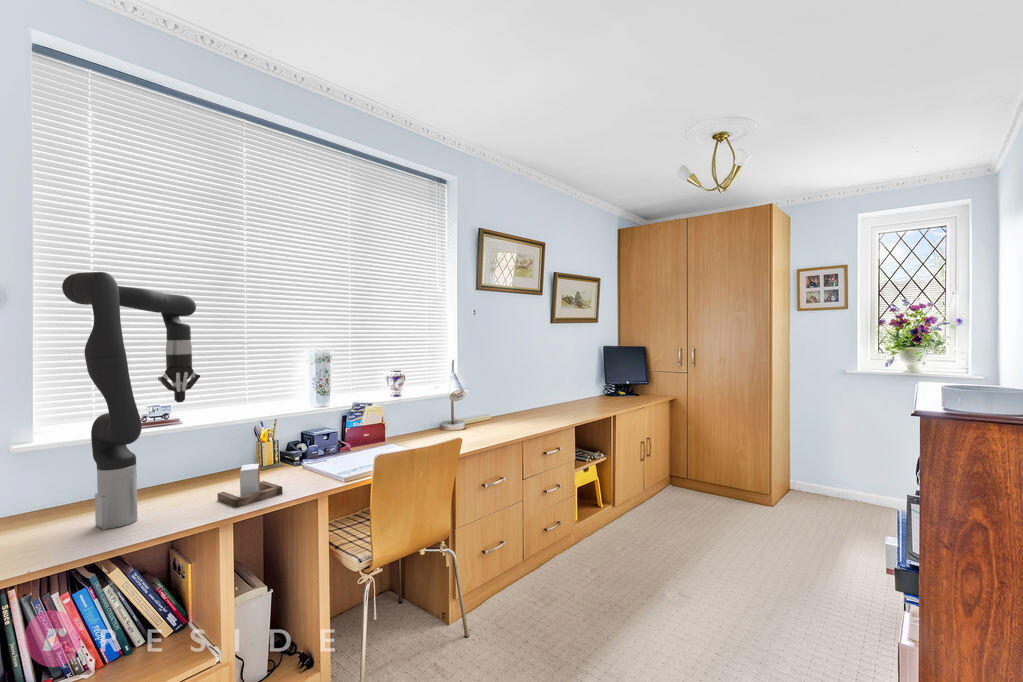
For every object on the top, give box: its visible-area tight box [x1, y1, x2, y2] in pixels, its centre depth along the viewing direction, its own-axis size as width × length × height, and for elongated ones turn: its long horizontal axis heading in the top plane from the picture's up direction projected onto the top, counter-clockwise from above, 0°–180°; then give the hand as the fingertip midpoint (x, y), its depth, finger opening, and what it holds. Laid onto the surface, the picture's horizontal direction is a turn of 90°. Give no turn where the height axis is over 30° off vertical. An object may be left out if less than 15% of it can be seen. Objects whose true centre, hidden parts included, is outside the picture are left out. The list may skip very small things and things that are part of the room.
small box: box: [239, 463, 261, 497], centre depth 168 cm, size 8×6×10 cm
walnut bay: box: [217, 480, 283, 508], centre depth 168 cm, size 16×12×2 cm
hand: (180, 402), depth 170 cm, fingers closed
